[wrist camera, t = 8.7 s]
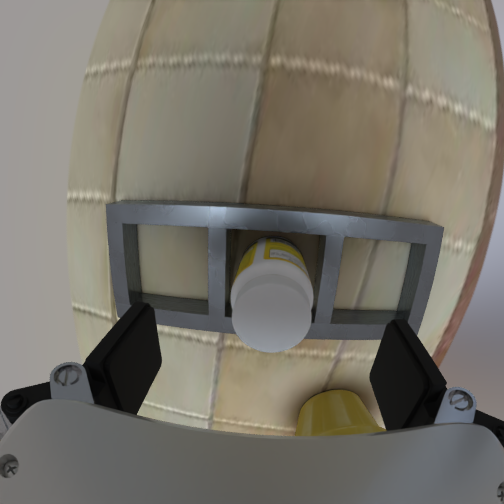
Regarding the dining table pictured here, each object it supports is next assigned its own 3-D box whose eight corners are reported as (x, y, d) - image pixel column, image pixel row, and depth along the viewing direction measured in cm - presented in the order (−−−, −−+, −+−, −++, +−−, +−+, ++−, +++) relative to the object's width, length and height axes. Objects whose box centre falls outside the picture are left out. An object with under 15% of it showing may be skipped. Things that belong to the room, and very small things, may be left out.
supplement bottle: (252, 300, 23) (240, 366, 15) (233, 245, 22) (208, 291, 14) (311, 284, 22) (327, 346, 14) (294, 226, 21) (306, 264, 13)
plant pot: (382, 364, 24) (414, 440, 14) (374, 426, 26) (391, 491, 17) (276, 382, 25) (274, 467, 16) (288, 441, 28) (287, 509, 18)
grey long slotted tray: (121, 200, 21) (106, 204, 19) (429, 221, 20) (444, 227, 17) (130, 305, 24) (117, 317, 22) (406, 324, 22) (416, 338, 20)
